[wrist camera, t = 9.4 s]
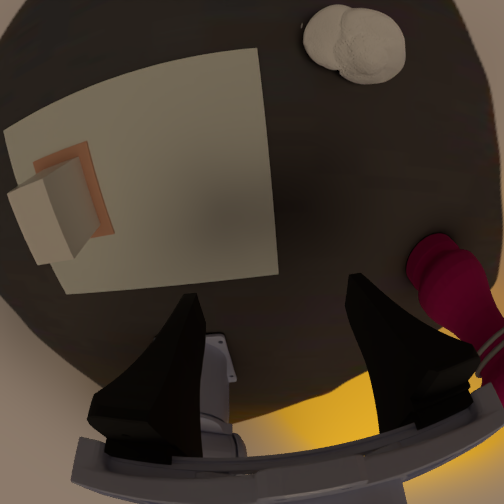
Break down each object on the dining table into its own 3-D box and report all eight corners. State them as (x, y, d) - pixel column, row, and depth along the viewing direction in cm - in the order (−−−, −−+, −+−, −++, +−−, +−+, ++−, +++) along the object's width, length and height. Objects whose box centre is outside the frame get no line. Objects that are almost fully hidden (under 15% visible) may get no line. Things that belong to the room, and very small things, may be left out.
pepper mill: (463, 228, 23) (579, 373, 6) (442, 283, 27) (526, 426, 10) (412, 227, 23) (542, 414, 6) (393, 288, 27) (475, 463, 10)
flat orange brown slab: (115, 232, 21) (114, 234, 21) (62, 242, 22) (61, 243, 21) (87, 140, 17) (86, 141, 17) (33, 161, 17) (32, 162, 17)
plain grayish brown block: (78, 156, 17) (42, 178, 13) (100, 224, 21) (74, 259, 16) (43, 169, 18) (6, 193, 13) (65, 232, 21) (37, 265, 17)
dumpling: (391, 33, 14) (420, 27, 10) (381, 93, 17) (410, 97, 13) (299, 4, 13) (314, -13, 10) (289, 69, 16) (302, 64, 12)
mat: (278, 271, 25) (278, 274, 24) (67, 292, 25) (66, 294, 25) (256, 48, 15) (257, 47, 15) (5, 130, 15) (3, 130, 15)
